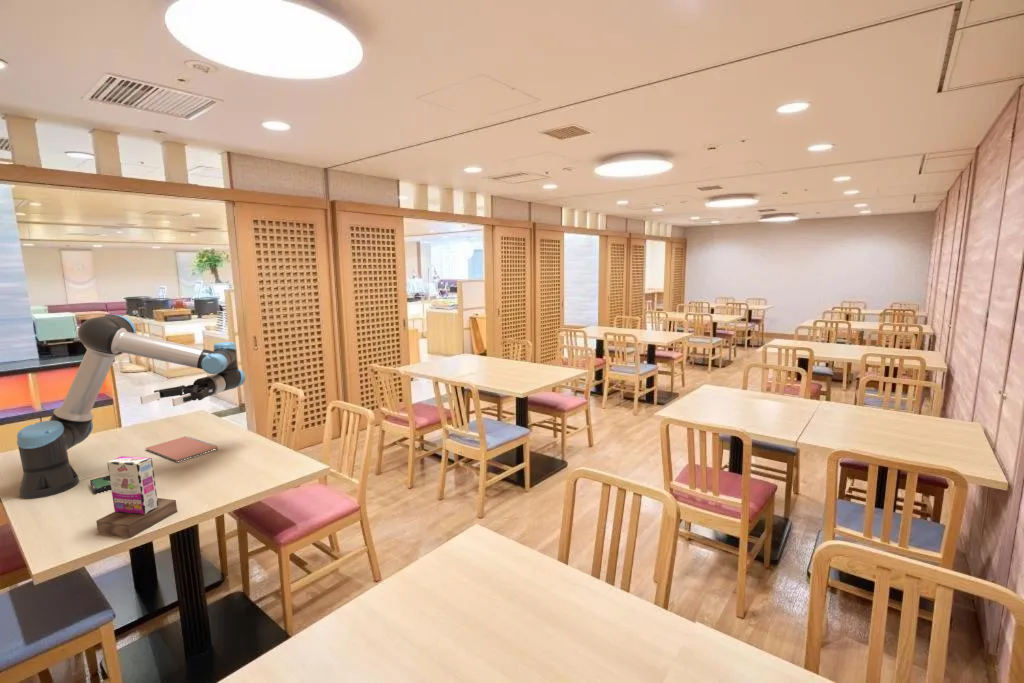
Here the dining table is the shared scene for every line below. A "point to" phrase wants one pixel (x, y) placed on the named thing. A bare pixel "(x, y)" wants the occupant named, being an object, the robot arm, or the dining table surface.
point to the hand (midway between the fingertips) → (157, 401)
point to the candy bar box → (133, 485)
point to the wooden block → (135, 520)
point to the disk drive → (101, 484)
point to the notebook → (181, 448)
